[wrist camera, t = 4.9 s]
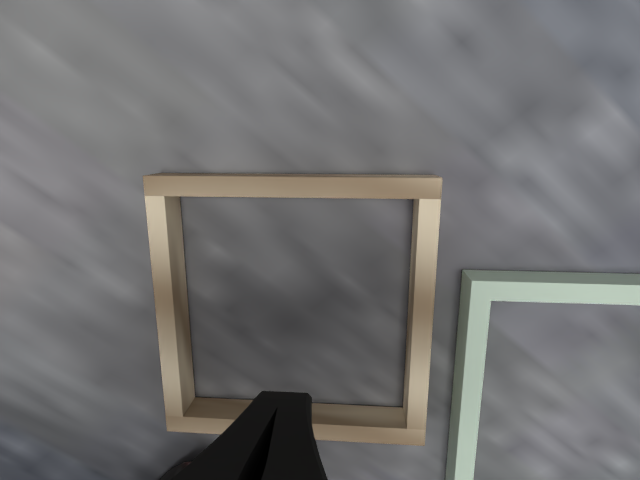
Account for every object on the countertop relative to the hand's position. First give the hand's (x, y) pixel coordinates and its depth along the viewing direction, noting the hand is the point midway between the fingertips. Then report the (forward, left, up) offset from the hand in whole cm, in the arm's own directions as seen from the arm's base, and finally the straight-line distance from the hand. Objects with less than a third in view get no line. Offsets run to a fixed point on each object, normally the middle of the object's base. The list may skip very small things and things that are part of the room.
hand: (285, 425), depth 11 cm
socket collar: (0, +1, -8) cm, 8 cm away
